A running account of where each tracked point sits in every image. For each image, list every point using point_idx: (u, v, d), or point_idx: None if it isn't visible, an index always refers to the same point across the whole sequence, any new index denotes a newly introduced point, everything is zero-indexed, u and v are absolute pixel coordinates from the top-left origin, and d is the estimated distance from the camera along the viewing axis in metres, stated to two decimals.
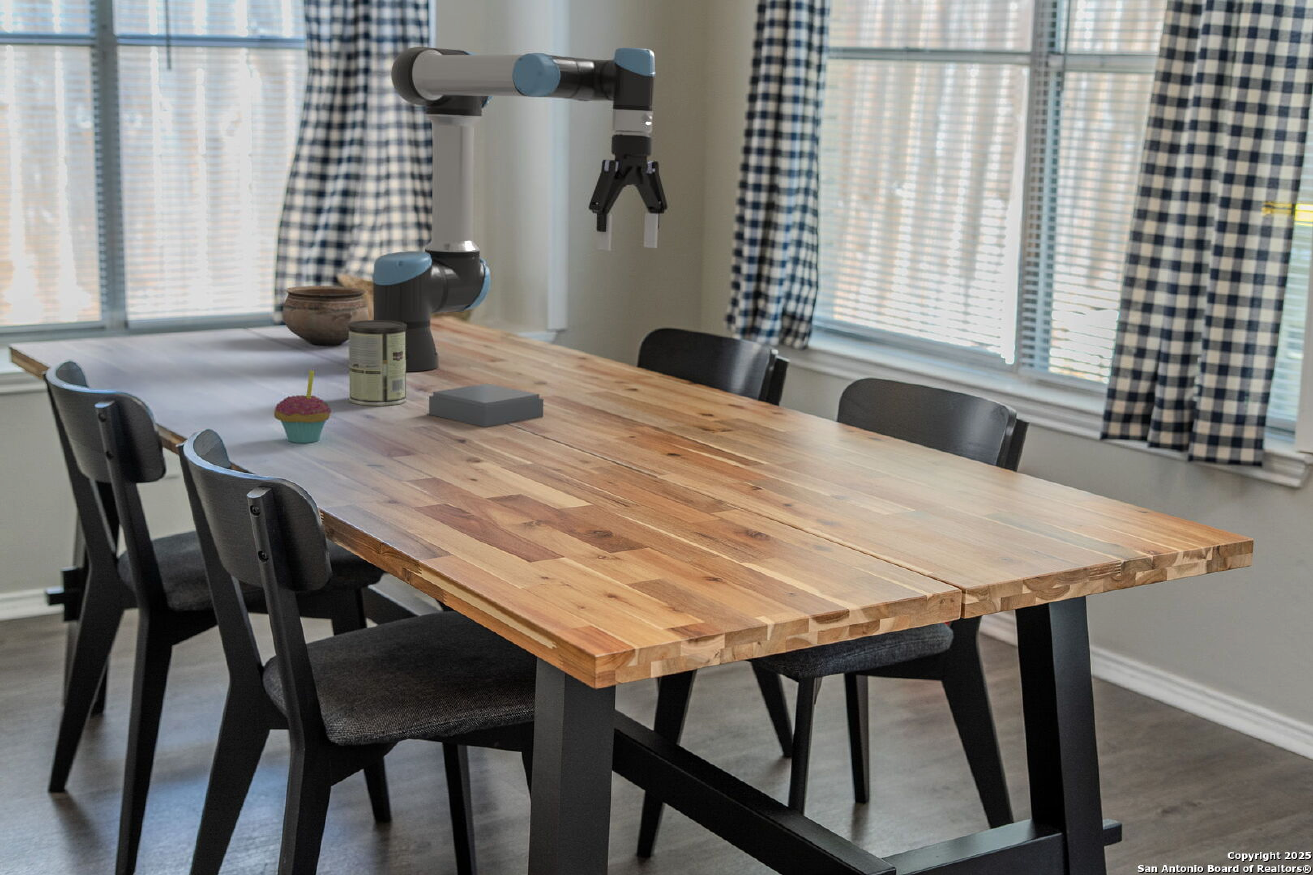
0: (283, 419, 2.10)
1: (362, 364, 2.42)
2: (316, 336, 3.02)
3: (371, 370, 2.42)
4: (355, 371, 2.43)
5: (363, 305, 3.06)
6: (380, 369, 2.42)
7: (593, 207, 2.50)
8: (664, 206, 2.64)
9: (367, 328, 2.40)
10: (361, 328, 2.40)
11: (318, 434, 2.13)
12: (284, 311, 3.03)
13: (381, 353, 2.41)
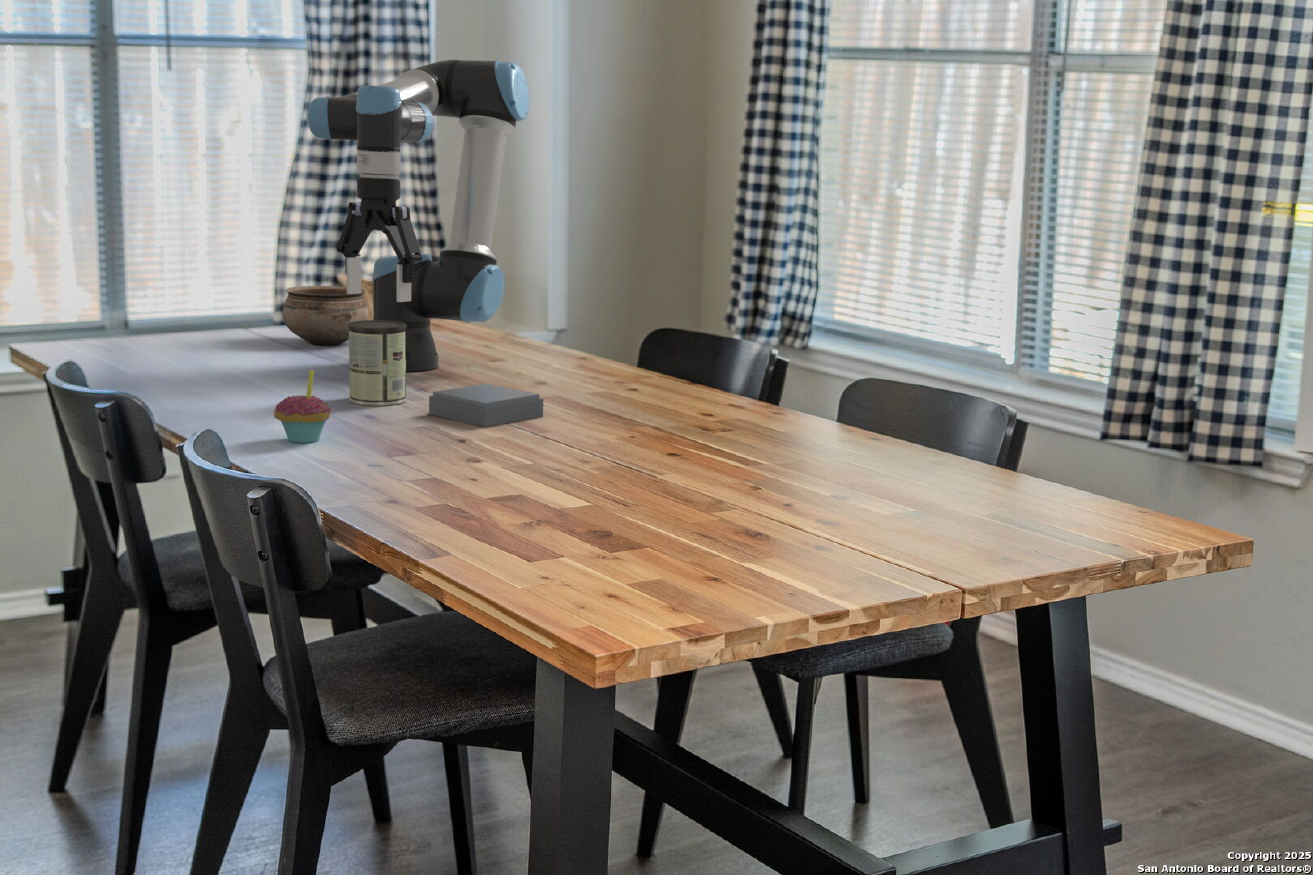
0: (283, 419, 2.10)
1: (362, 364, 2.42)
2: (316, 336, 3.02)
3: (371, 370, 2.42)
4: (355, 371, 2.43)
5: (363, 305, 3.06)
6: (380, 369, 2.42)
7: None
8: (407, 257, 2.36)
9: (367, 328, 2.40)
10: (361, 328, 2.40)
11: (318, 434, 2.13)
12: (284, 311, 3.03)
13: (381, 353, 2.41)
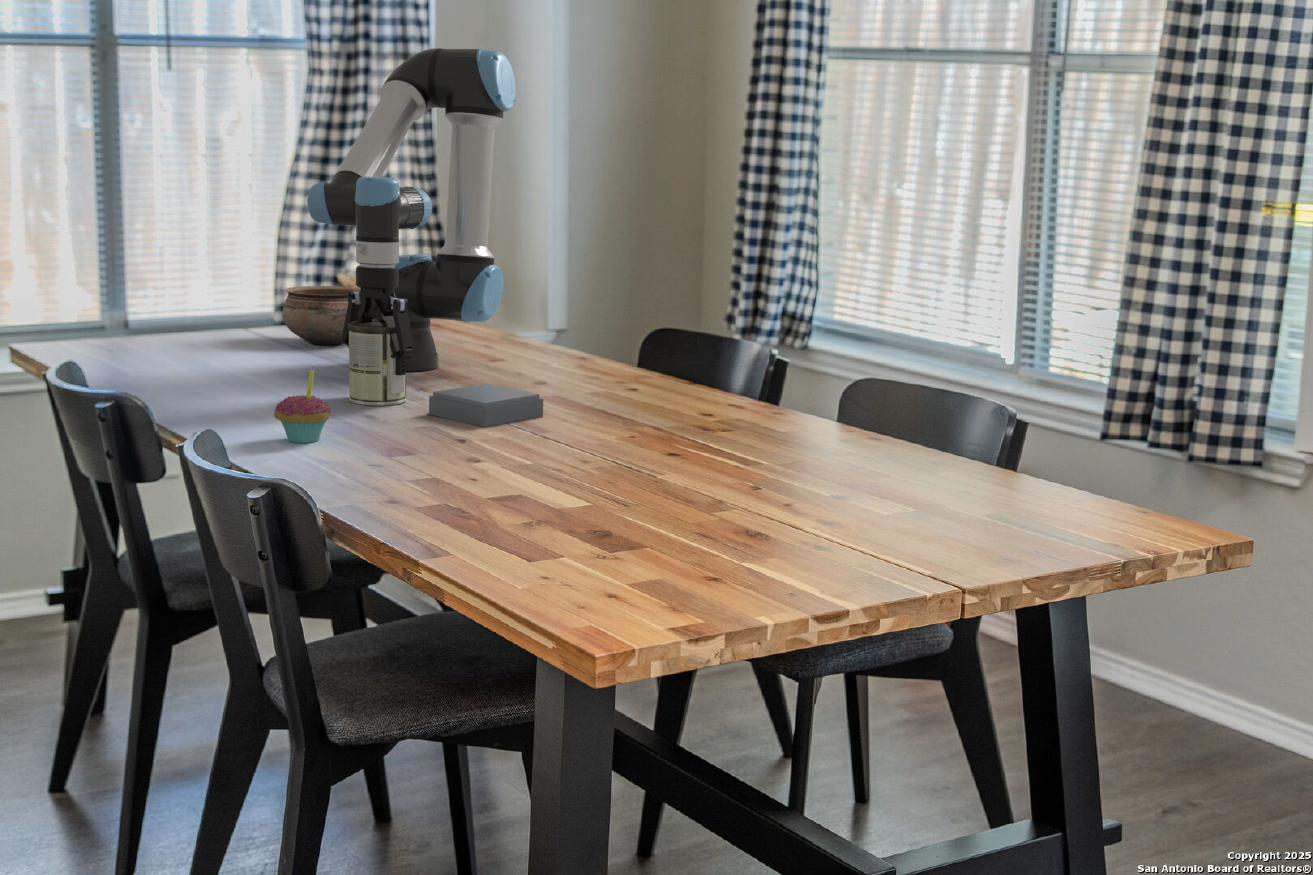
0: (283, 419, 2.10)
1: (362, 364, 2.42)
2: (316, 336, 3.02)
3: (371, 370, 2.42)
4: (355, 371, 2.43)
5: None
6: (380, 368, 2.42)
7: None
8: (400, 350, 2.40)
9: (367, 328, 2.40)
10: (361, 328, 2.40)
11: (318, 434, 2.13)
12: (284, 311, 3.03)
13: (381, 353, 2.41)
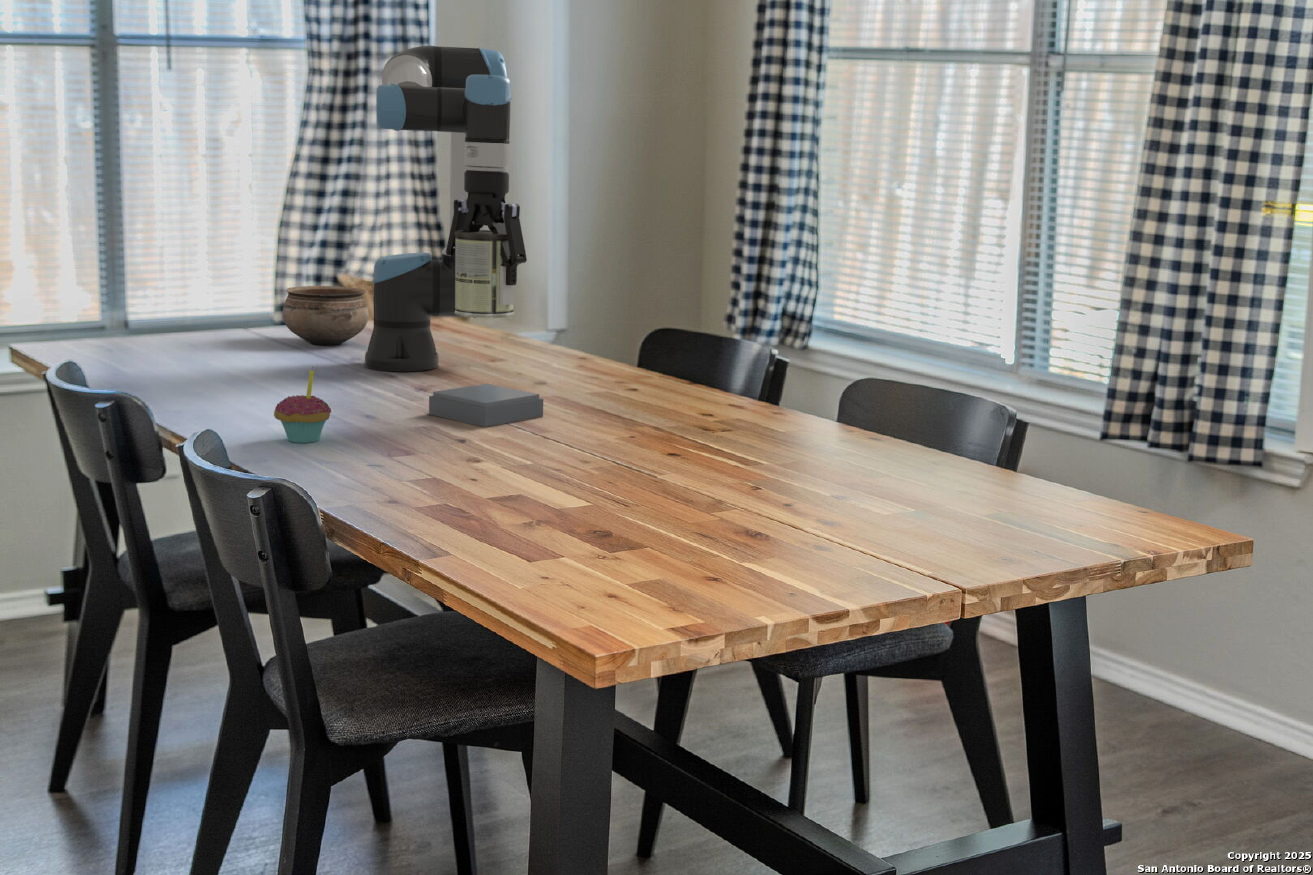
0: (283, 419, 2.10)
1: (471, 273, 2.29)
2: (316, 335, 3.02)
3: (480, 279, 2.29)
4: (462, 281, 2.30)
5: (363, 305, 3.06)
6: (489, 278, 2.29)
7: None
8: (512, 258, 2.27)
9: (476, 234, 2.27)
10: (470, 234, 2.28)
11: (318, 434, 2.13)
12: (284, 311, 3.03)
13: (490, 262, 2.28)
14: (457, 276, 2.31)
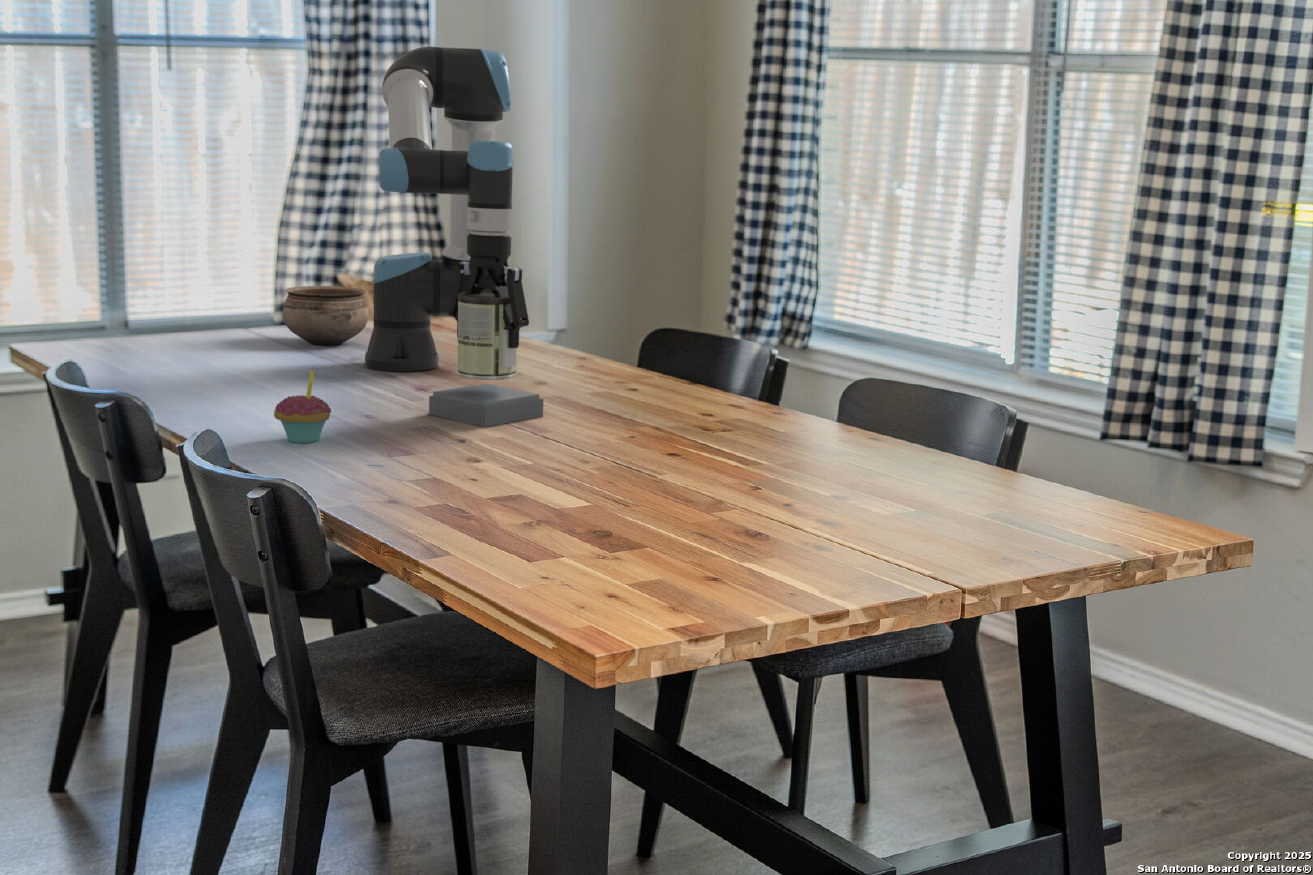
0: (283, 419, 2.10)
1: (474, 336, 2.31)
2: (316, 336, 3.02)
3: (482, 343, 2.31)
4: (465, 344, 2.32)
5: (363, 305, 3.06)
6: (492, 341, 2.31)
7: None
8: (514, 322, 2.30)
9: (479, 298, 2.29)
10: (473, 298, 2.30)
11: (318, 434, 2.13)
12: (284, 311, 3.03)
13: (493, 325, 2.31)
14: (460, 338, 2.33)
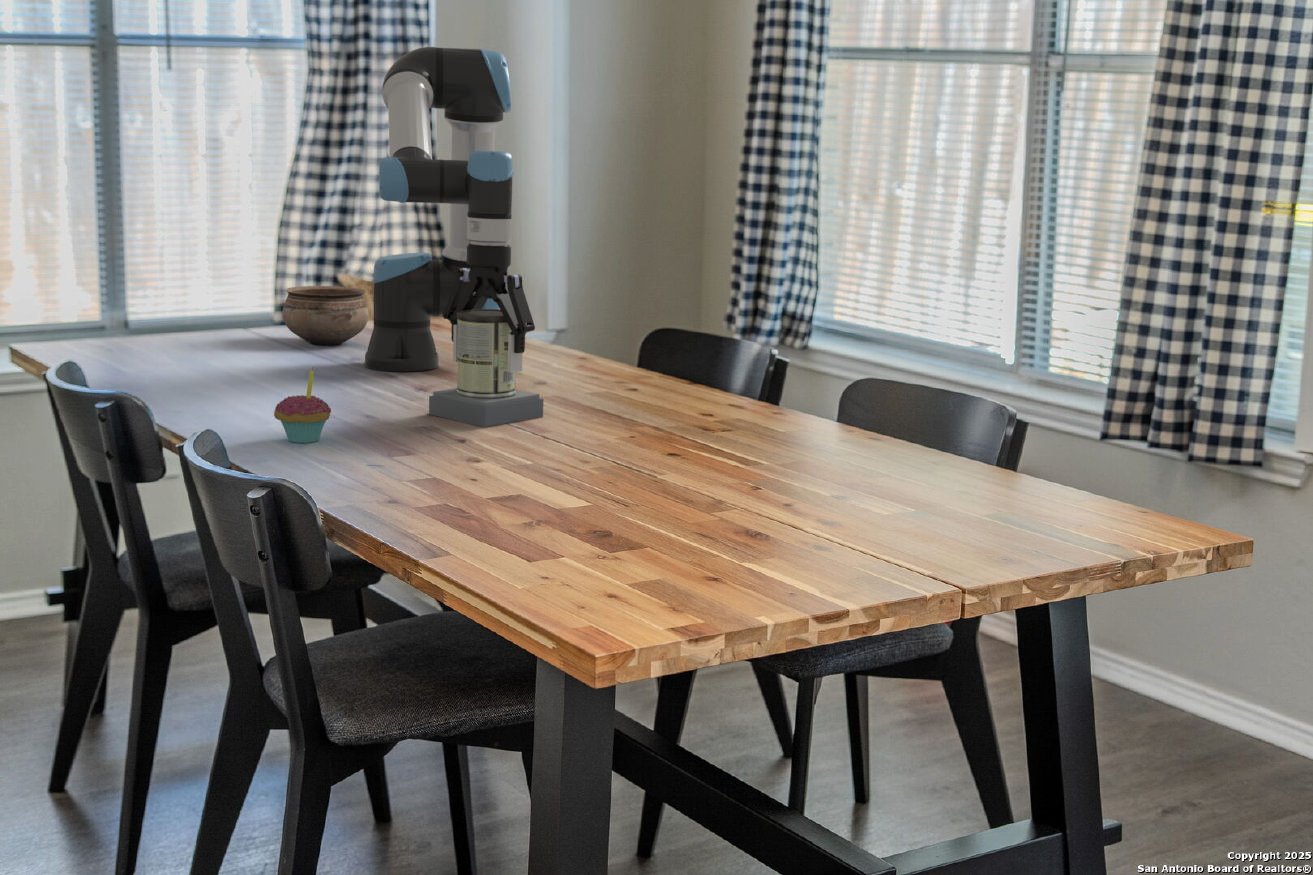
0: (283, 419, 2.10)
1: (473, 354, 2.32)
2: (316, 336, 3.02)
3: (482, 361, 2.32)
4: (465, 362, 2.33)
5: (363, 305, 3.06)
6: (491, 359, 2.32)
7: None
8: (520, 327, 2.29)
9: (478, 317, 2.30)
10: (472, 317, 2.31)
11: (318, 434, 2.13)
12: (284, 311, 3.03)
13: (492, 343, 2.31)
14: (459, 356, 2.34)
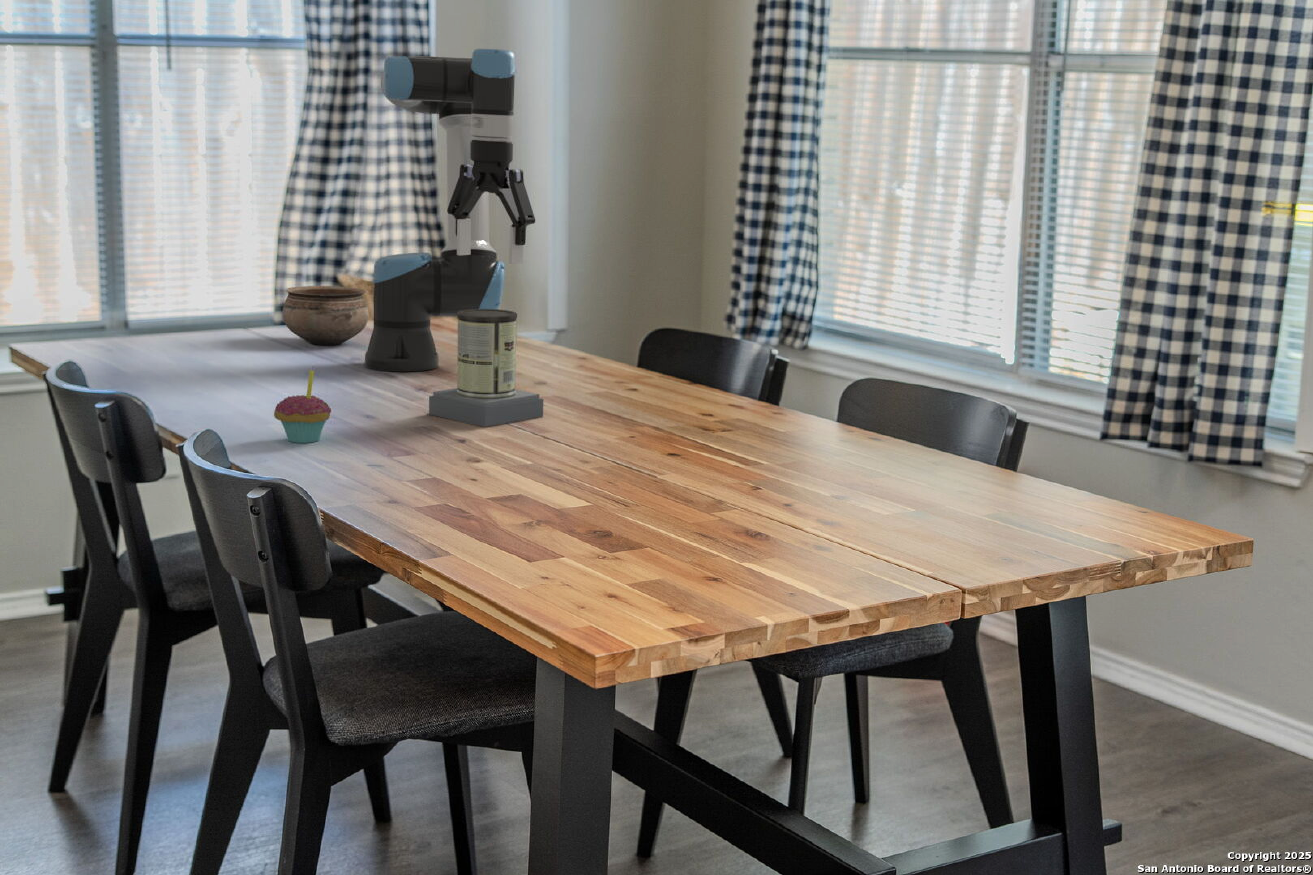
0: (283, 419, 2.10)
1: (473, 354, 2.32)
2: (316, 335, 3.02)
3: (482, 361, 2.32)
4: (465, 362, 2.33)
5: (363, 305, 3.06)
6: (491, 359, 2.32)
7: None
8: (521, 220, 2.39)
9: (479, 317, 2.30)
10: (472, 317, 2.30)
11: (318, 434, 2.13)
12: (284, 311, 3.03)
13: (492, 343, 2.31)
14: (459, 356, 2.34)
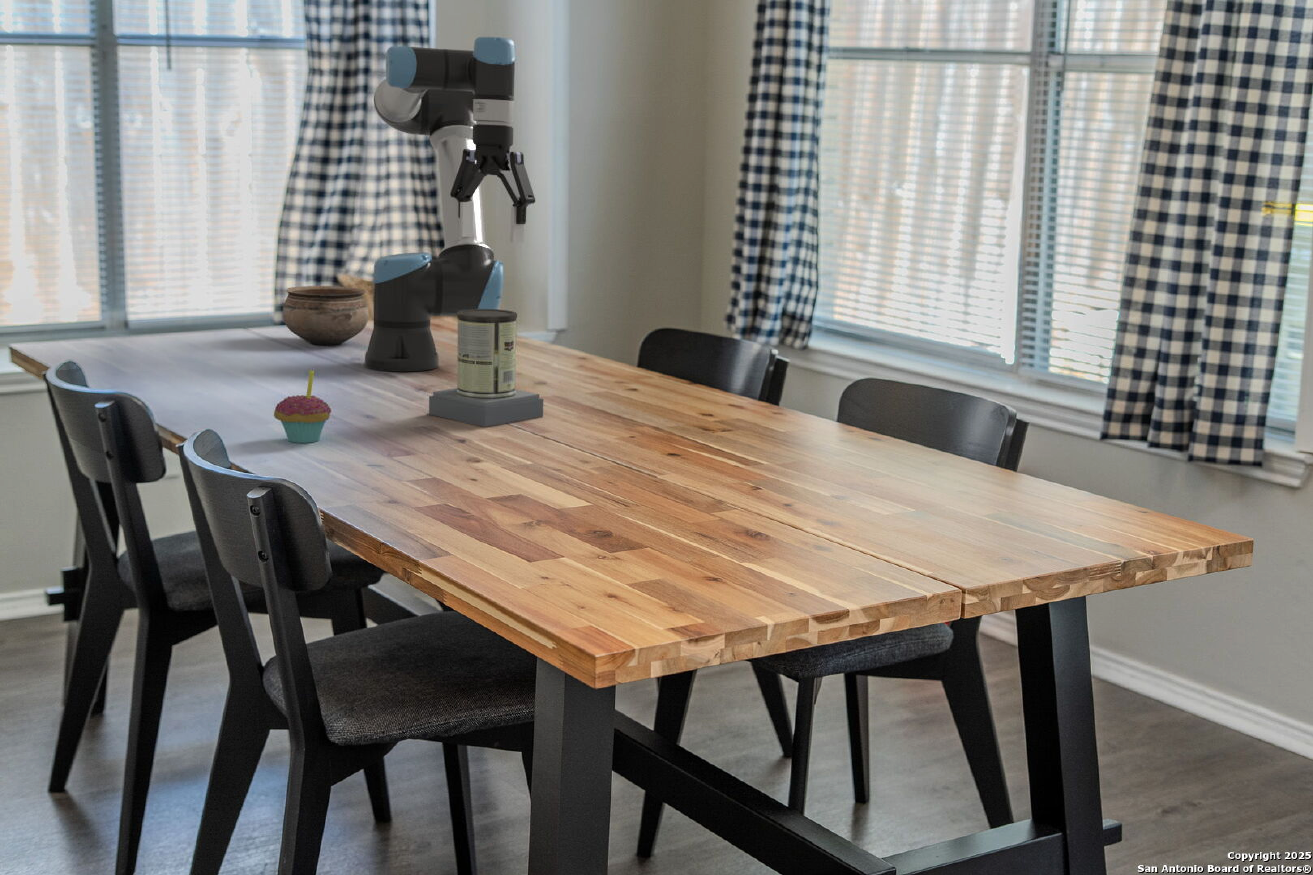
0: (283, 419, 2.10)
1: (473, 354, 2.32)
2: (316, 336, 3.02)
3: (482, 361, 2.32)
4: (465, 362, 2.33)
5: (363, 305, 3.06)
6: (491, 359, 2.32)
7: None
8: (522, 199, 2.49)
9: (479, 317, 2.30)
10: (472, 317, 2.31)
11: (318, 434, 2.13)
12: (284, 311, 3.03)
13: (492, 343, 2.32)
14: (459, 356, 2.34)
